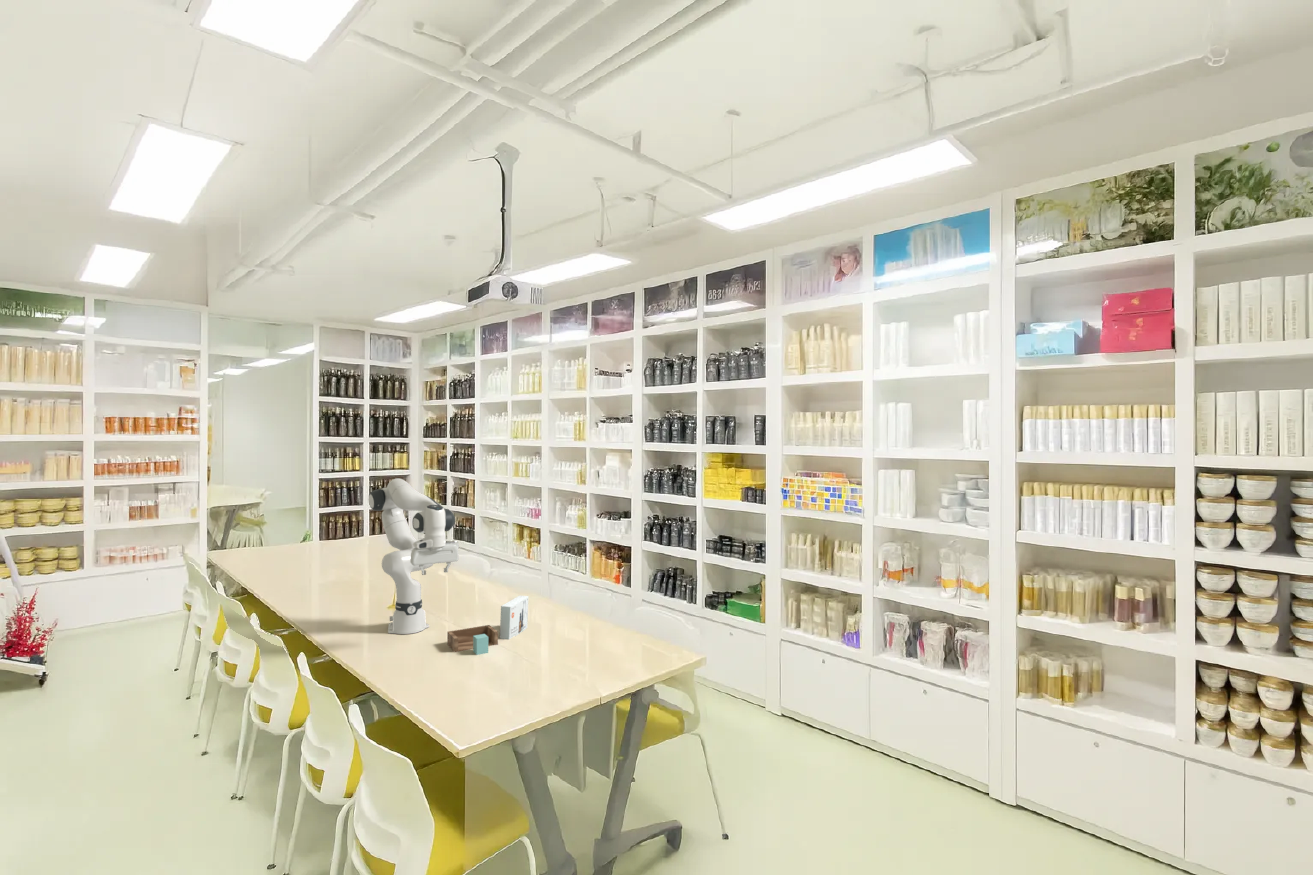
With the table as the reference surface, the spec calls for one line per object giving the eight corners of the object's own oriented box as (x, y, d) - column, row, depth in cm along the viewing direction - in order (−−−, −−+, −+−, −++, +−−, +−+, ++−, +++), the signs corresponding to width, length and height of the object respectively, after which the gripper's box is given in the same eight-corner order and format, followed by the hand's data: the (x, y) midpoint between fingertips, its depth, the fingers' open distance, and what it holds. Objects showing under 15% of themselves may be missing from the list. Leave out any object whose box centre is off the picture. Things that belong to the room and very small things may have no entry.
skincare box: (510, 641, 288) (510, 606, 288) (499, 640, 289) (499, 605, 289) (528, 627, 308) (528, 595, 308) (518, 627, 309) (518, 594, 310)
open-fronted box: (447, 646, 281) (447, 631, 281) (489, 638, 291) (489, 624, 291) (454, 653, 271) (454, 638, 271) (497, 646, 281) (497, 631, 281)
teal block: (473, 651, 271) (473, 635, 271) (484, 649, 274) (484, 633, 274) (476, 655, 267) (476, 638, 267) (488, 653, 270) (488, 636, 270)
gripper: (456, 539, 286) (456, 569, 286) (409, 543, 275) (409, 574, 275) (460, 541, 281) (460, 571, 281) (412, 545, 270) (412, 577, 270)
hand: (435, 573), depth 278 cm, fingers open, 8 cm apart
